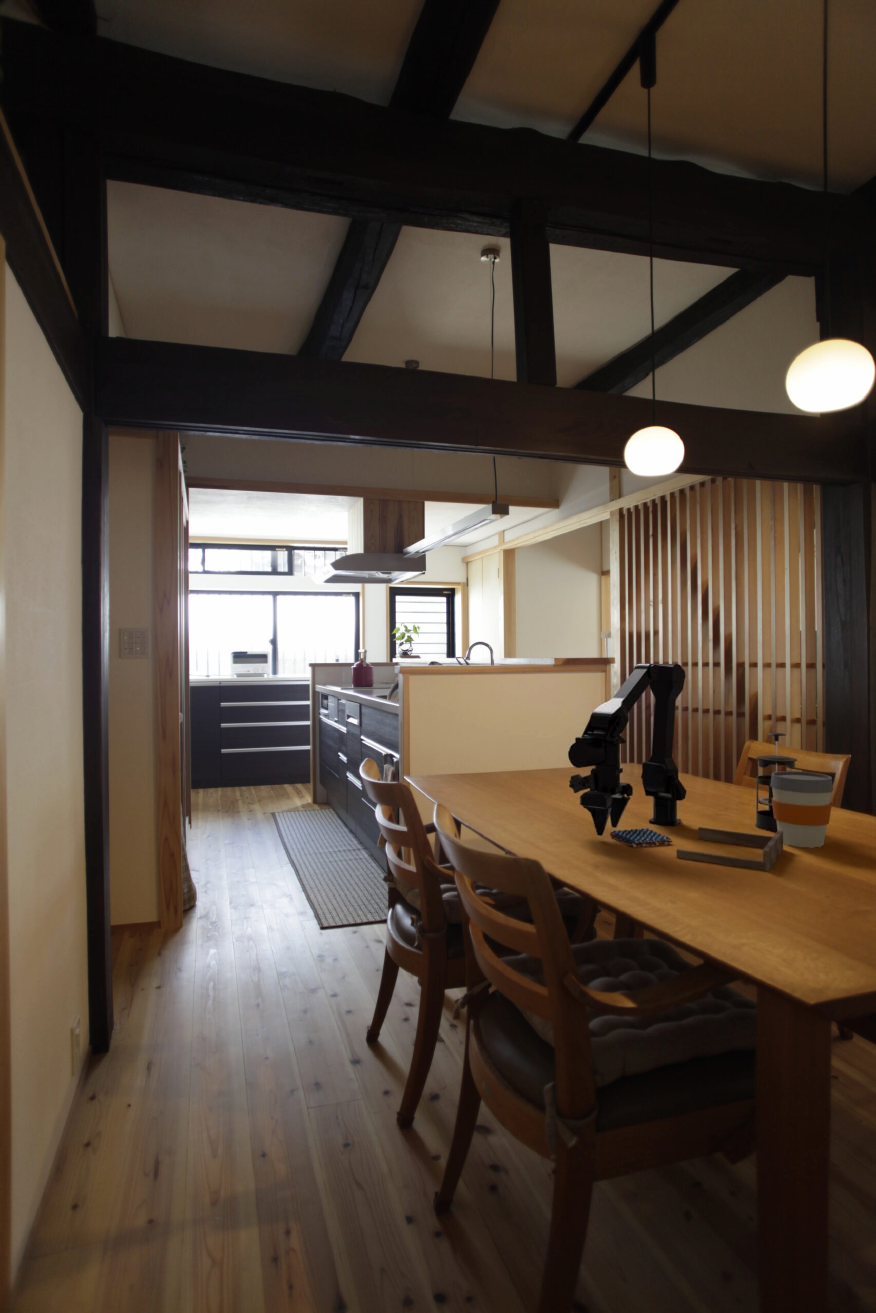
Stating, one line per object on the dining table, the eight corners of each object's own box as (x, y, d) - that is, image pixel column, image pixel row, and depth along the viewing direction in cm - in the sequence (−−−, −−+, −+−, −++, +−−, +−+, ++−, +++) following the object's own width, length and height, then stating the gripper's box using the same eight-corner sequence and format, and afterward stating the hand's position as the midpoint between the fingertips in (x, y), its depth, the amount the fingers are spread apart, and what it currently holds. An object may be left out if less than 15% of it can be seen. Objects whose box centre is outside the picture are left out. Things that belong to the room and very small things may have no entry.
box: (699, 837, 166) (699, 820, 166) (783, 849, 156) (783, 830, 156) (676, 857, 150) (676, 837, 150) (768, 871, 140) (768, 850, 140)
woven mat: (674, 846, 160) (674, 837, 160) (632, 850, 157) (632, 841, 157) (648, 835, 170) (648, 826, 170) (607, 838, 167) (607, 829, 167)
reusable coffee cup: (782, 832, 171) (782, 769, 171) (841, 842, 162) (841, 775, 162) (761, 842, 162) (761, 775, 162) (821, 853, 153) (822, 782, 153)
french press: (801, 834, 170) (802, 735, 170) (758, 831, 172) (758, 734, 172) (793, 823, 181) (793, 730, 181) (752, 820, 184) (752, 729, 184)
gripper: (589, 756, 180) (589, 819, 180) (558, 766, 165) (558, 834, 165) (633, 760, 174) (633, 825, 174) (605, 770, 158) (605, 841, 158)
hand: (607, 831), depth 168 cm, fingers open, 9 cm apart
